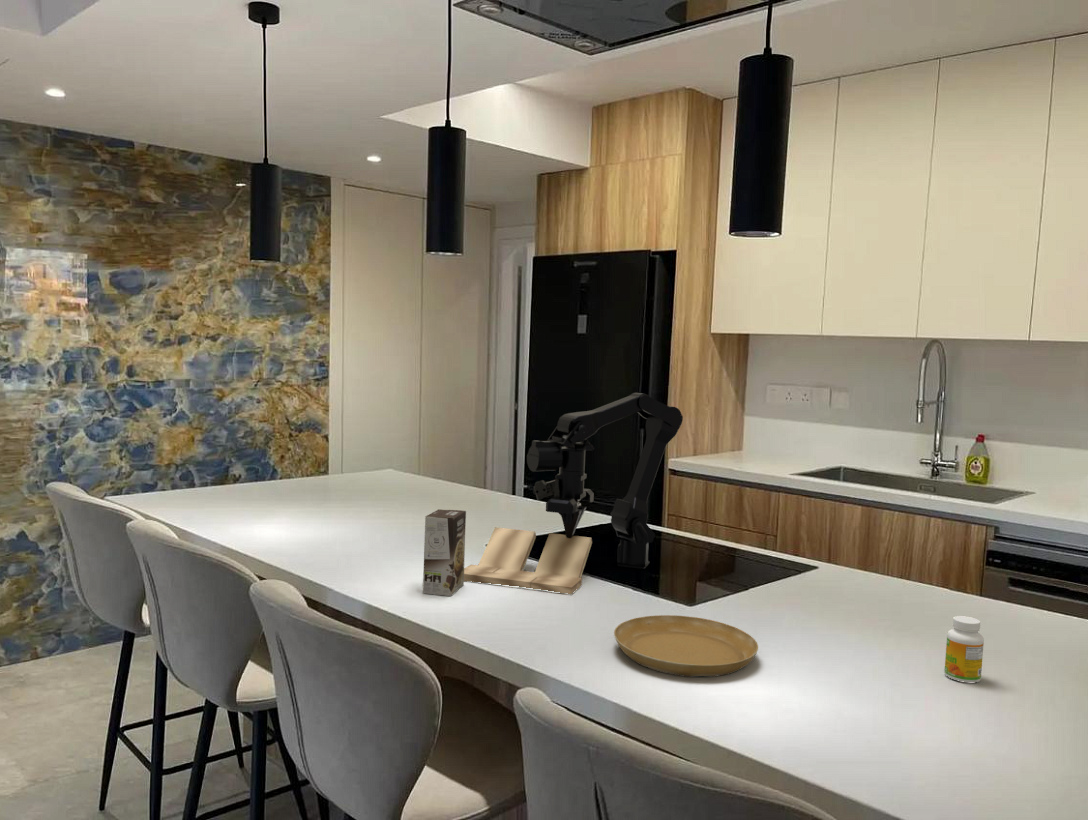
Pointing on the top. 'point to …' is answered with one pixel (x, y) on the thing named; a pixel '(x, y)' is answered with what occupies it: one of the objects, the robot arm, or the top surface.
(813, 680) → the top surface
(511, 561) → the far plank
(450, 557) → the coffee box
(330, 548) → the top surface
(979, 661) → the supplement bottle
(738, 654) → the plant saucer
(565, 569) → the near plank
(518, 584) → the laid section
